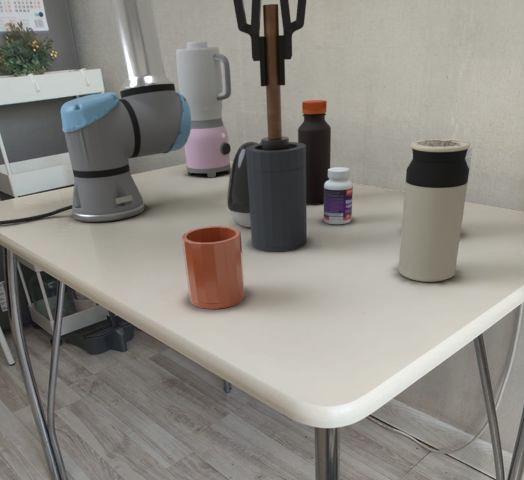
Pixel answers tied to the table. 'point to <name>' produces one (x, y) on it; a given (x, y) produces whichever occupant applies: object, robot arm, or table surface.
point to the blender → (205, 106)
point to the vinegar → (315, 148)
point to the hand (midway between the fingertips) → (273, 84)
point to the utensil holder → (277, 197)
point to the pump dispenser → (239, 187)
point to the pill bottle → (338, 196)
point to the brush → (273, 80)
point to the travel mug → (433, 209)
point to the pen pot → (214, 266)
